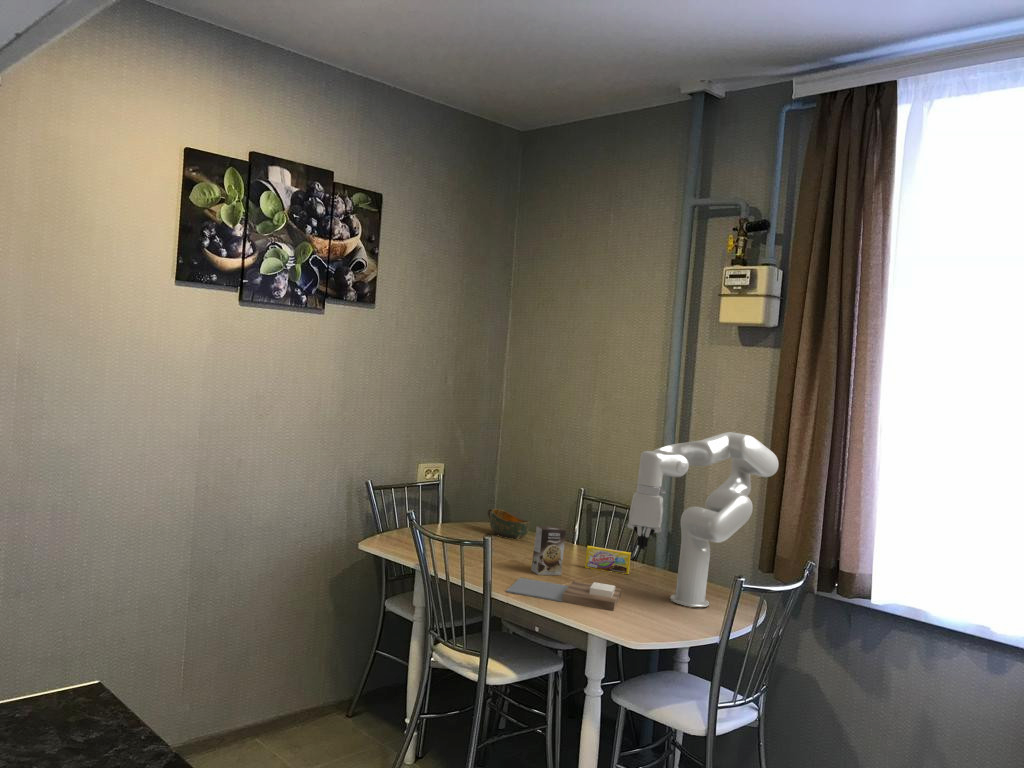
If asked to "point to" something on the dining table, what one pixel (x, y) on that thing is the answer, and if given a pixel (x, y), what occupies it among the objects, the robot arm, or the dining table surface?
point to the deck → (589, 596)
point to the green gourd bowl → (507, 524)
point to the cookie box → (548, 550)
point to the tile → (602, 589)
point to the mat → (538, 589)
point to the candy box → (607, 559)
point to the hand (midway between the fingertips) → (642, 548)
